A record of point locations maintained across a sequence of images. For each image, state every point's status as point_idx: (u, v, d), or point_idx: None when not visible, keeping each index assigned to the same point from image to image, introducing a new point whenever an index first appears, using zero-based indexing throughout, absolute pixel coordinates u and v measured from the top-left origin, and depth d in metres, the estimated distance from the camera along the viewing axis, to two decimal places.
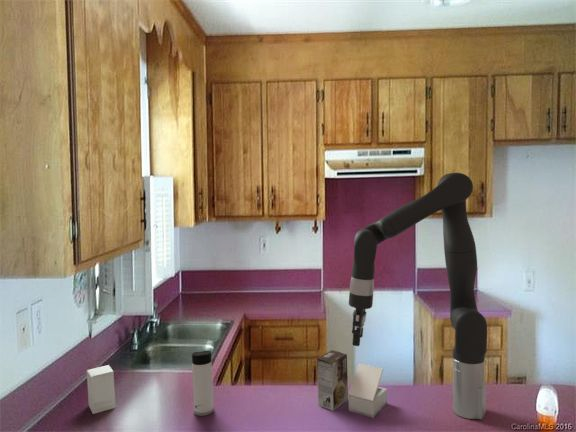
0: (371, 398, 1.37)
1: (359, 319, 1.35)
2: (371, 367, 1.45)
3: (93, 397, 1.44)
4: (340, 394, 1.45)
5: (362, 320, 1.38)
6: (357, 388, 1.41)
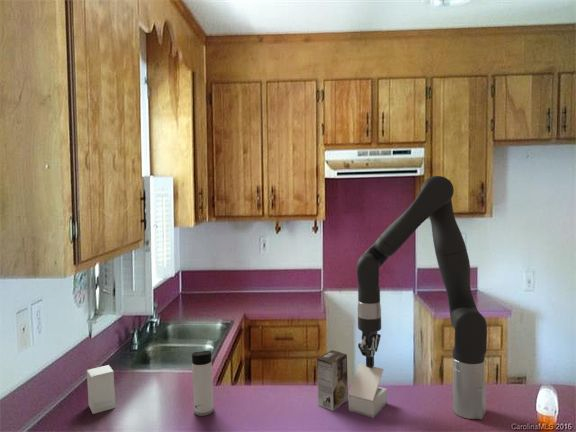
0: (371, 398, 1.37)
1: (364, 348, 1.39)
2: None
3: (93, 397, 1.44)
4: (340, 394, 1.45)
5: (371, 344, 1.42)
6: (357, 388, 1.41)
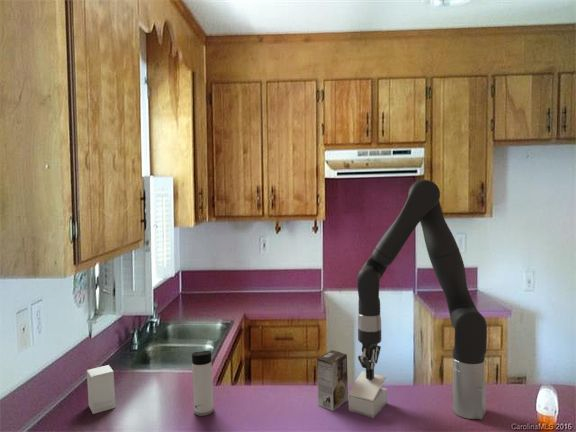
0: (371, 398, 1.37)
1: (364, 361, 1.40)
2: (374, 375, 1.46)
3: (93, 397, 1.44)
4: (340, 394, 1.45)
5: (371, 357, 1.42)
6: (358, 389, 1.42)
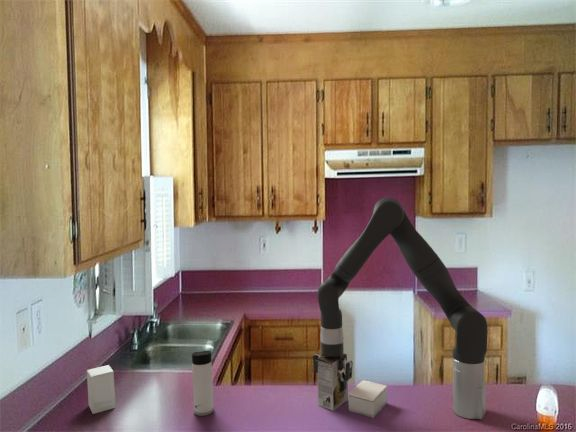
0: (372, 398, 1.37)
1: None
2: (375, 383, 1.47)
3: (93, 397, 1.44)
4: (340, 394, 1.45)
5: None
6: (358, 391, 1.42)
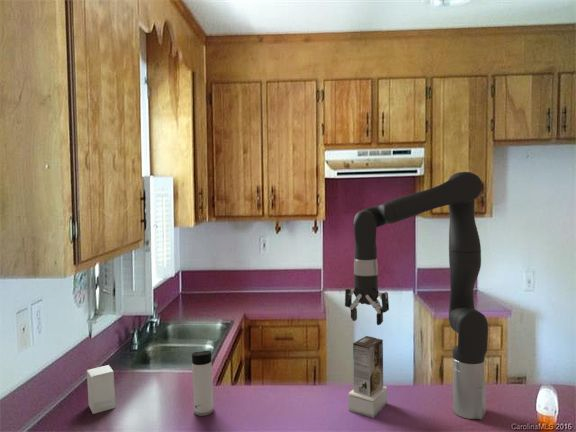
0: (372, 398, 1.37)
1: None
2: None
3: (93, 397, 1.44)
4: (376, 380, 1.41)
5: (356, 298, 1.42)
6: None
